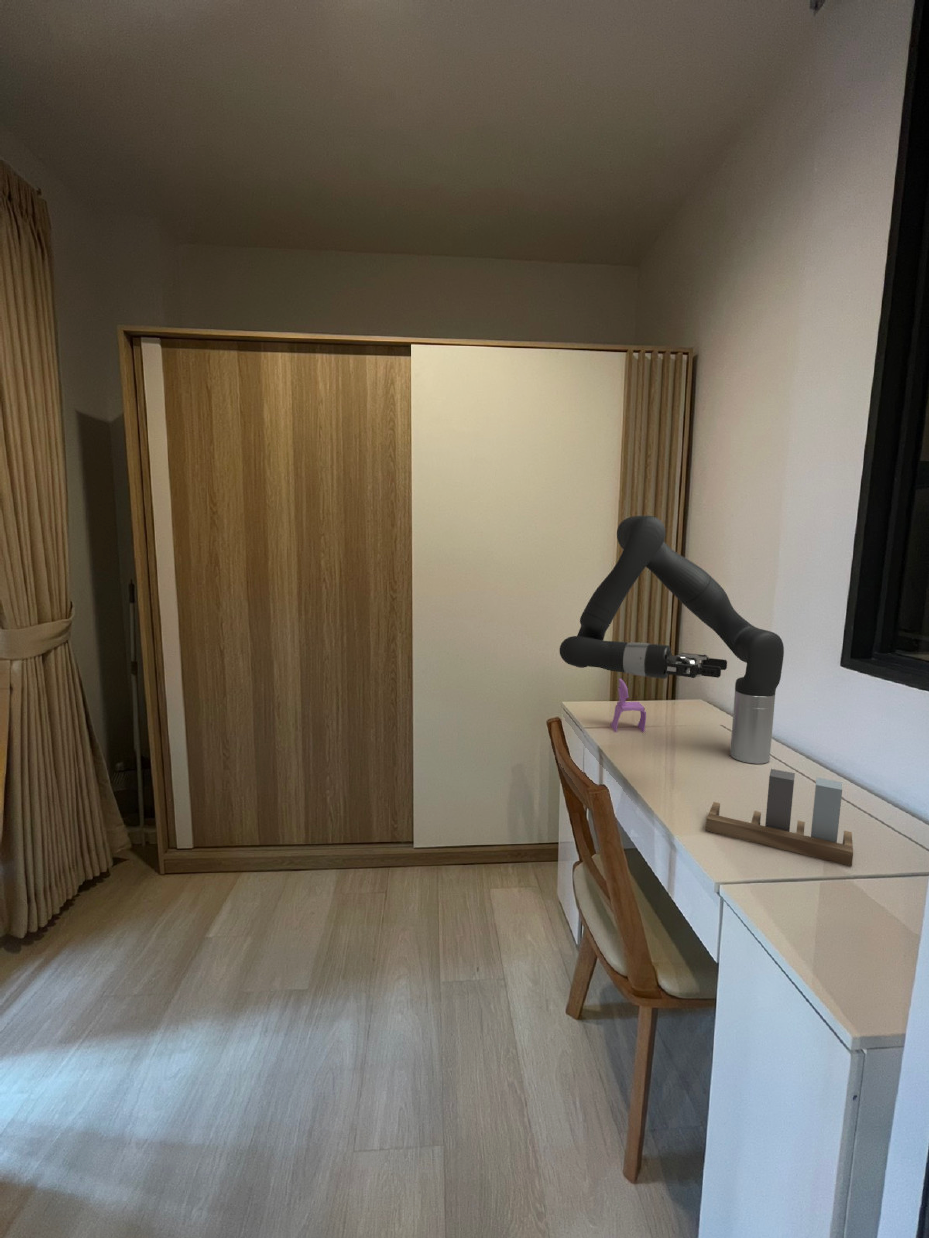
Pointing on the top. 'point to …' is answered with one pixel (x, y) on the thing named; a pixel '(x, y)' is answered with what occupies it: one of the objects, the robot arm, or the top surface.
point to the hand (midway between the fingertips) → (723, 668)
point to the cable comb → (781, 837)
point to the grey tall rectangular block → (779, 800)
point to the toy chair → (627, 707)
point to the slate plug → (826, 809)
